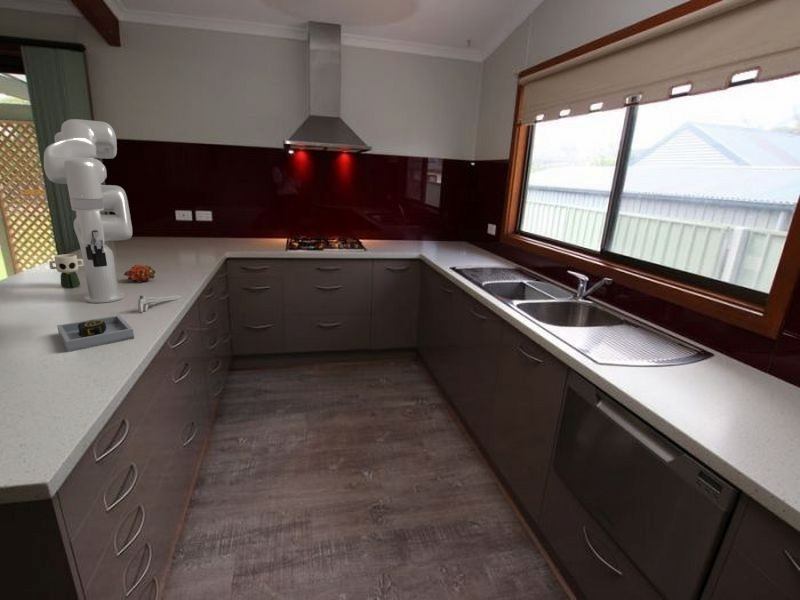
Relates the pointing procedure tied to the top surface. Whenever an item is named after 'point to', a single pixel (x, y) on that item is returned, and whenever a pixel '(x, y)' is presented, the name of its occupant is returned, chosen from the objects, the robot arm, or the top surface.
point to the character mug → (67, 269)
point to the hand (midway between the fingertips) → (97, 262)
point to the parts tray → (114, 333)
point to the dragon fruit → (140, 273)
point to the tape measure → (91, 328)
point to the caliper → (153, 301)
